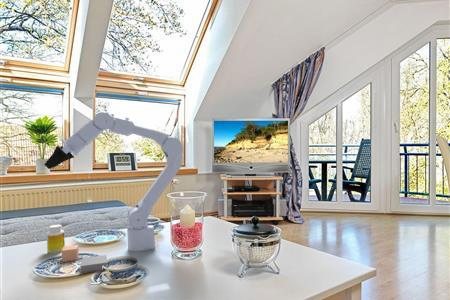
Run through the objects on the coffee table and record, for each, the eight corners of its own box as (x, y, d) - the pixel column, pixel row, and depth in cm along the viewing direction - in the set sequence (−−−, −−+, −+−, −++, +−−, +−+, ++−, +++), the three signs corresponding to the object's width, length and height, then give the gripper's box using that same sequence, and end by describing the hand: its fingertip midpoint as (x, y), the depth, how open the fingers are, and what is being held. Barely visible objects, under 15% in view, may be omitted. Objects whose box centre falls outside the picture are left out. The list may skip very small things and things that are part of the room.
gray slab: (106, 261, 103) (106, 254, 103) (106, 269, 96) (106, 262, 96) (83, 264, 100) (82, 258, 100) (81, 272, 94) (80, 266, 94)
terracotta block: (78, 259, 109) (78, 244, 109) (77, 263, 105) (76, 248, 104) (64, 261, 107) (63, 246, 107) (62, 266, 103) (61, 250, 103)
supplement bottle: (66, 254, 114) (65, 225, 114) (49, 258, 110) (48, 228, 110) (62, 250, 118) (61, 223, 118) (46, 253, 115) (44, 225, 114)
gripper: (75, 130, 114) (44, 156, 111) (70, 128, 100) (34, 158, 97) (90, 145, 116) (59, 171, 113) (86, 145, 102) (52, 174, 99)
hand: (49, 166), depth 105 cm, fingers open, 7 cm apart
